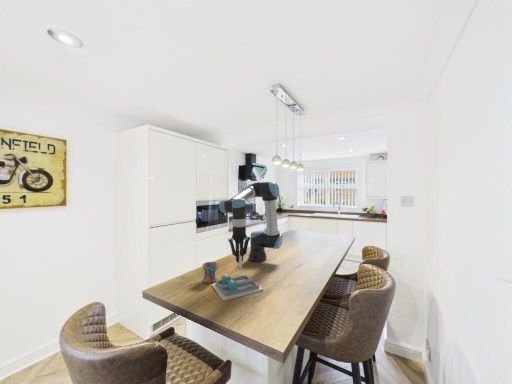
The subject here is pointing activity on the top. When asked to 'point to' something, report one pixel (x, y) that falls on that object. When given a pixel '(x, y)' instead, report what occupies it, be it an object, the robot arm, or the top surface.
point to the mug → (210, 272)
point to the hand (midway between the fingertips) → (239, 267)
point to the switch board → (243, 287)
